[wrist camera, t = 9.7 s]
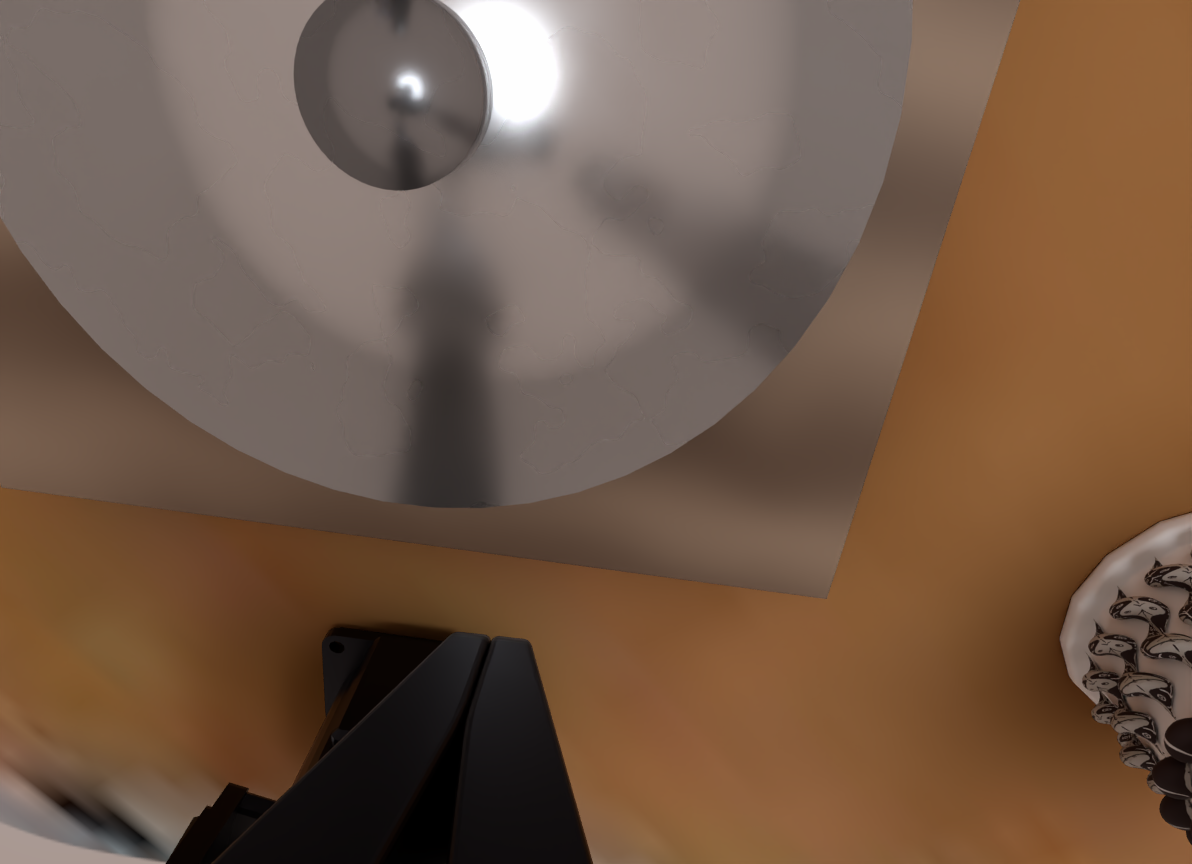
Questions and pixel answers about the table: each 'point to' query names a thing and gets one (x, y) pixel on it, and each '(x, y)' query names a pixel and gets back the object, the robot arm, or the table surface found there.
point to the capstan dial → (447, 217)
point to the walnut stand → (613, 509)
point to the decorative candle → (1141, 656)
